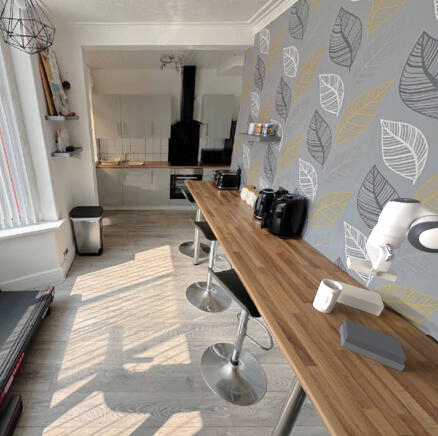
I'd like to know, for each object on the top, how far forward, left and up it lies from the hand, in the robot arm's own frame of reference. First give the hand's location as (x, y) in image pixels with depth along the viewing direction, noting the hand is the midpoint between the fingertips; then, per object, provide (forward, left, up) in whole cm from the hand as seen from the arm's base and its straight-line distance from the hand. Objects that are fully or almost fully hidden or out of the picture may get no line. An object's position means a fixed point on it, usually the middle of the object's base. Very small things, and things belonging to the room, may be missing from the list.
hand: (369, 269), depth 94 cm
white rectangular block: (0, 0, -17) cm, 17 cm away
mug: (+3, +18, -17) cm, 25 cm away
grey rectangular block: (-14, +22, -17) cm, 31 cm away
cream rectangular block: (0, 0, -1) cm, 1 cm away
